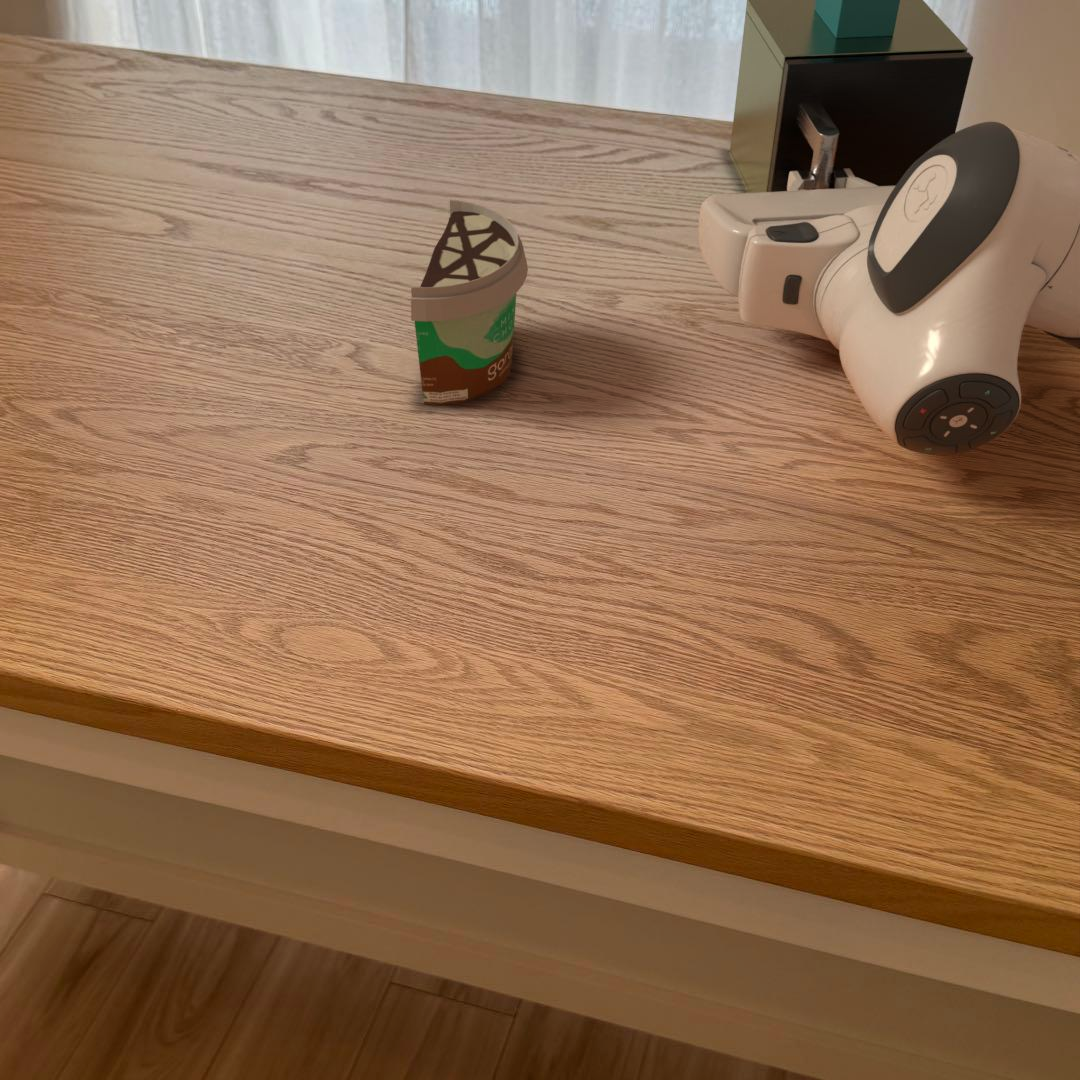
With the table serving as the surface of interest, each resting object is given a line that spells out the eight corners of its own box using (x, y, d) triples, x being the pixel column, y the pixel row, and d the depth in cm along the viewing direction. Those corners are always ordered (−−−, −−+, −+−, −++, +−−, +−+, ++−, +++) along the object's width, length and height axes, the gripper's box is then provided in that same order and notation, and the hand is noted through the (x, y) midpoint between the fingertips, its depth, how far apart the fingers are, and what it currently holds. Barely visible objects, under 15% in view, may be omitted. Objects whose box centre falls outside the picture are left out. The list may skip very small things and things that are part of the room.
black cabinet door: (958, 261, 97) (1003, 89, 87) (783, 271, 96) (810, 98, 86) (929, 219, 102) (969, 51, 92) (761, 227, 101) (785, 59, 91)
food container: (511, 433, 81) (509, 300, 74) (419, 423, 82) (408, 292, 75) (541, 329, 90) (541, 202, 83) (457, 321, 91) (451, 195, 84)
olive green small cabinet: (927, 219, 102) (968, 48, 92) (761, 228, 101) (784, 56, 91) (882, 153, 111) (915, -9, 101) (728, 160, 110) (747, -3, 100)
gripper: (1038, 224, 81) (962, 131, 91) (729, 241, 79) (687, 144, 89) (1012, 307, 85) (942, 210, 95) (719, 325, 83) (680, 224, 93)
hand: (816, 178), depth 92 cm, fingers closed on black cabinet door, 2 cm apart
